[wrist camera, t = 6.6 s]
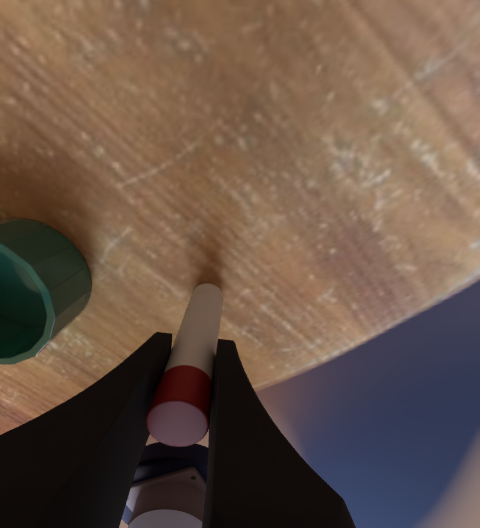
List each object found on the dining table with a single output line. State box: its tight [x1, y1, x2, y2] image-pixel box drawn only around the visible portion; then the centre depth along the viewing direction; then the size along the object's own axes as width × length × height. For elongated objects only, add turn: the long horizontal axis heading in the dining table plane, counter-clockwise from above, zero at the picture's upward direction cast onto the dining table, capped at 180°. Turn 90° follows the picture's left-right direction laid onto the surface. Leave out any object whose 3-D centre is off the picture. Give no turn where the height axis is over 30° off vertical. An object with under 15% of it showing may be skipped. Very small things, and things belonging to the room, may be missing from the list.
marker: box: [145, 283, 223, 447], centre depth 12 cm, size 2×2×8 cm
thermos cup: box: [0, 218, 91, 364], centre depth 14 cm, size 7×7×4 cm
